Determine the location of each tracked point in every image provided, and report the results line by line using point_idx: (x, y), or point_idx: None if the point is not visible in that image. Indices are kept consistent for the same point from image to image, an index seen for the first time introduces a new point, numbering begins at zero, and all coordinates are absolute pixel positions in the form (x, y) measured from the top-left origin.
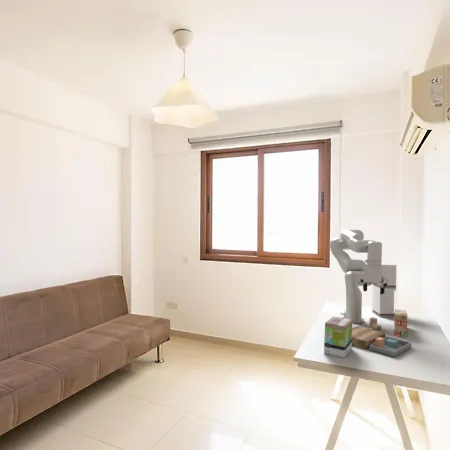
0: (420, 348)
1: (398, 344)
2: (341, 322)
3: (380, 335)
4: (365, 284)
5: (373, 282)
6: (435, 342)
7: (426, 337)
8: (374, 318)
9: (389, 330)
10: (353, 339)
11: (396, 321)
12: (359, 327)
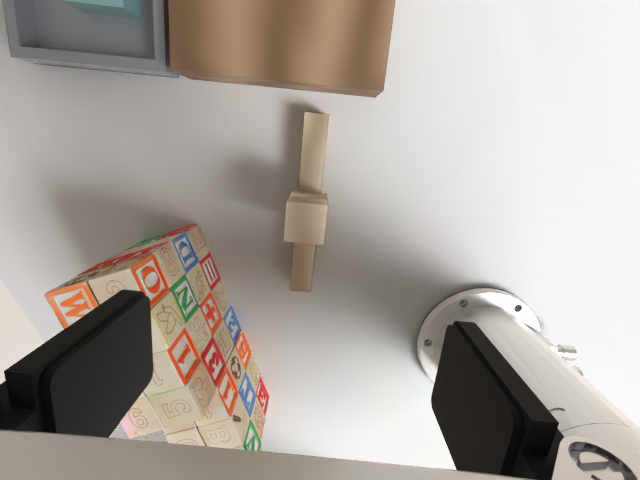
0: (5, 94)
1: (94, 41)
2: None
3: None
4: (515, 470)
5: (156, 454)
6: (14, 263)
7: None
8: (298, 225)
9: (254, 297)
10: None
11: (147, 251)
12: (353, 68)
